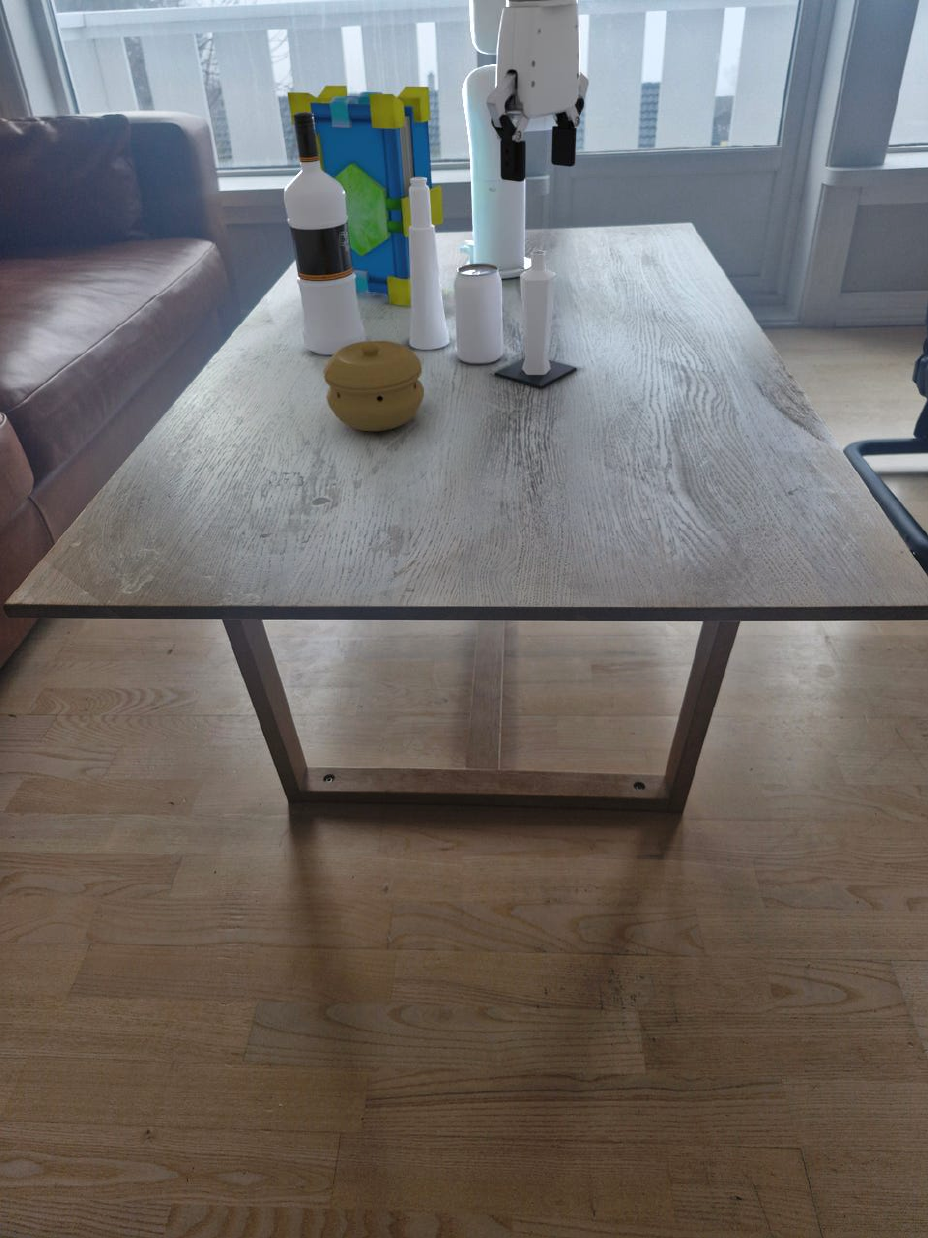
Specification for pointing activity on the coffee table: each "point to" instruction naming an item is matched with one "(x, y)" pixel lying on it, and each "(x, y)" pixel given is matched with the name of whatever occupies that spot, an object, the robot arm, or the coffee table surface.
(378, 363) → the pot
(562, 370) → the coaster
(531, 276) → the perfume bottle
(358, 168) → the decorative book
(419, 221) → the cosmetic bottle
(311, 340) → the vodka
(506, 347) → the coffee table surface
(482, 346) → the can
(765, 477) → the coffee table surface
